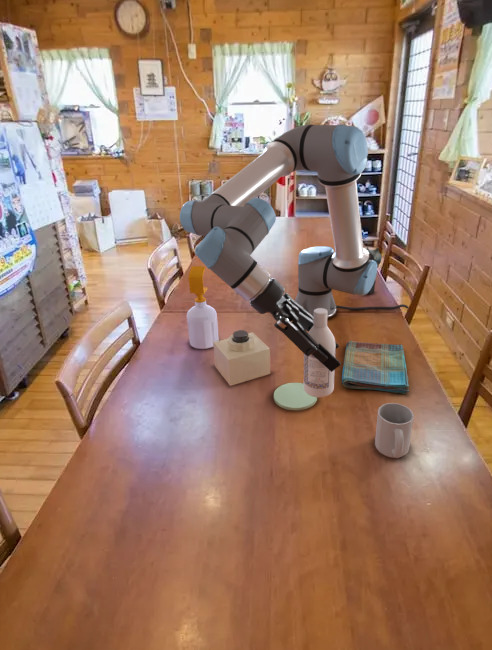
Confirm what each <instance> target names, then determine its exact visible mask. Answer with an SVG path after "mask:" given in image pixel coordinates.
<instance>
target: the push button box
mask: <svg viewBox="0 0 492 650" xmlns="http://www.w3.org/2000/svg"><path fill="white" fill-rule="evenodd" d="M213 357H214V368H216V370H217V371H218V372H219V374H220V375H221V376H222V377H223V379H224V380H225V381H226V382H227V383H228V385H229V386H230V387H232V386H235V385H238V384H241V383H246V382H248V381H252V380H254V379H258V378H260V377H261V378H262V377H265V376H268V375H270V374H271V348H270V347H269V346H268V345H267V344H266V343H264V342H263V340H261V339H260V338H259V336H257V335H256V334H255V333H254V332H253V331H252V332H248V341H247V342H244V343H236V342H234V341H233V334H231V335H230V336H228V338H224V339H219V341H216V342H213Z"/></svg>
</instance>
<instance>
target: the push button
mask: <svg viewBox="0 0 492 650" xmlns="http://www.w3.org/2000/svg"><path fill="white" fill-rule="evenodd" d="M248 333H249V332H248V331H247V330H244V329H239V330H235V331H233V333H232V335H233V341H234V342H236V343H244V342H247V341H248Z"/></svg>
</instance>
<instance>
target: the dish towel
mask: <svg viewBox="0 0 492 650" xmlns="http://www.w3.org/2000/svg"><path fill="white" fill-rule="evenodd" d="M405 357H406V356H405V350H404V346H403V344H392V343H379V342H378V343H376V342H366V341H365V342H364V341H363V342H362V341H353V340H349V341H347V342H346V346H345V352H344V359H343V366H342V375H341V384H342V385H343V387H345V388H346V389H356V390H369V391H370V390H371V391H380V392H388V393H395V394H403V395H406V394H407V393H409V392H410V389H409V388H410V385H409V377H408V369H407V364H406V358H405Z"/></svg>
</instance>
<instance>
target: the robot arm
mask: <svg viewBox="0 0 492 650" xmlns="http://www.w3.org/2000/svg"><path fill="white" fill-rule="evenodd" d="M368 156H369V147H368V141H367V138H366V135H365V134H364V131H362V130H361V129H360V128H359V127H358V126H355V125H347V124H343V123H342V124H303V125H302V124H301V125H299V126H296V127H294V128H292V129H289V130H287V131H285V132H283V133H282V134H280V135H278V136H277V137H276V138H274V139H273V140H271V141H270V142H269V143H267V144H266V145H265V147H264V149H263V153H261V154H260V155H259V156H257V157H256V158H255V159H253V160H252V161H250V163H248V164H247V165H246V166H244V167H243V168H242V169H241V170H239V171H238V172H237V173H235V174H234V175H233V176H232V177H230V179H228V180H227V181H225V182H224V183H223V184H222V185H220V186H219V187H217V188H216V189H215V190H214V191H213V192H211V194H209V195H208V196H206V197H205V198H204V199H203V200H199V199H195V200H188V201H185V203H183V205H182V206H181V209H180V211H179V222H180V225H181V227H182V229H183V230H184V231H185V232H187V233H190V234H194V235H197V236H199V237H200V236H201V237H203V239H201V241H199V243H198V244H197V245H196V247H195V249H194V254H195V256H196V257H197V258H198V259H199V260H200V262H202V264H204V266H205V267H206V268H207V269H208V270H210V271H211V272H212V273H214V274H215V275H216V276H217V277H218V278H219V279H220V280H221V281H223V282H224V283H225V284H226V285H227V286H229V287H230V289H232V290H233V291H234V294H235V295H236V296H240V297H241V298H242V299H243V300H244V301H246V302H249V306H251V307H252V309H254V310H255V311H256V312H257V313H259V314H260V315H265V314H266V313H270V314H271V316H272V317H273V319H274V320H275V321H276V322H275V323H273V325H274V327H275V328H276V329H277V330H279V331H280V332H281V333H282V334H283V335H284V336H286V338H288V339H289V341H291V343H293V344H294V345H295V346H296V347H297V349H299V350H300V351H301V352H302V353H303V355H304V354H305V355H306V356H310V355H311V354H312V355H313V356H314V357H315V358H317V359H318V360H319V361H320V362H321V363H322V364H323V365H324V366H325V367H327V368H328V369H329V370H330V371H331V372H332V371H334V370H335V371H336V370H337V368H339V367H340V366H341V365H342V363H341V361H340V360H338V358H336V356H335V357H334V356H333V355H332V354H331V353H330V352H328V351H327V350H326V349H325V348H324V347H323V346H322V345H321V344H319V345H318V344H317V343H316V342H315V341H314V339H313V338H312V337H311V336H310V335H309V334H308V332H309V330H310V329H311V328H312V327H313V325H314V310H315V309H317V308H324V309H326V310H327V311H328V315H327V320H329V319H331V318H333V317H335V316H336V314H337V309H340V310H349V311H362V310H363V311H364V310H396V309H400V308H405V309H407V310H408V309H410V307H409V306H408V305H407V304H398V305H395V306H361V307H360V306H359V307H351V306H345V305H344V306H343V305H337V304H336V302H335V297H334V294H333V291H338V292H342V293H345V294H349V295H353V296H355V295H356V296H362V297H363V296H366V295H368V294H367V293H368V292H369V291H370V289H371V288H372V286H373V284H374V281H375V280H376V279H377V274H378V265H377V263H376V262H375V261H373V260H369V253H368V251H367V250H366V247H364V243H363V241H364V240H363V234H362V233H363V232H362V222H361V214H360V206H359V205H360V203H359V195H358V185H357V181H358V179H360V178H361V176H362V172H363V171H365V169H366V167H367V164H368ZM296 171H297V172H298V171H308V172H316V173H317V180H318V183H319V184H320V185H322V186H324V189H325V195H326V200H327V201H326V203H327V208H328V214H329V220H330V221H329V222H330V226H331V227H330V228H331V233H332V234H331V235H332V239H333V246H334V247H331V246H326V245H319V246H311V247H307V248H305V249H302V250H301V251H300V252H299V253H298V260H297V266H298V267H297V276H298V277H297V286H298V287H297V294H296V296H295V299H293V297H291V295H289V293H287V292H285V291H286V290H285V289H286V288H285V287H284V285H282V284H281V283H280V282H279V281H278V280H277V279H276V278H275V277H271V274H270V272H269V271H268V270H266V269H265V268H264V267H263V266H262V265H261V264H260V263H259V262H258V261H256V260H255V258H253V256H251V255H252V254H253V253H254V251H255V250H256V249H257V247H259V245H260V244H261V242H262V241H264V239H265V238H266V237H267V236H268V235H269V233H270V231H271V229H272V228H273V226H274V225H275V224H276V220H277V216H276V212H275V209H274V208H273V206H272V205H271V204H270V203H269V202H267V201H266V200H265V199H263V198H260V196H261V195H262V194H263V193H264V192H265V191H266V190H267V189H269V188H270V187H271V186H272V185H273V184H274V183H276V182H277V181H278V180H279V179H280V178H281V177H283V178H284V177H287V176H289V175H291V174H292V173H293V172H296ZM362 240H363V241H362ZM335 343H336V350H337V349H338V348H339V347H340V344H338V343H337V342H336V341H335Z"/></svg>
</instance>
